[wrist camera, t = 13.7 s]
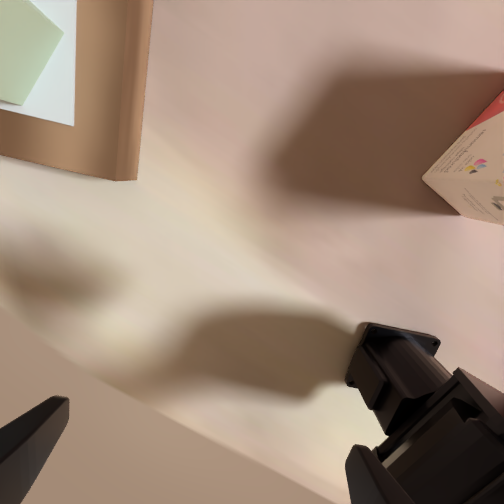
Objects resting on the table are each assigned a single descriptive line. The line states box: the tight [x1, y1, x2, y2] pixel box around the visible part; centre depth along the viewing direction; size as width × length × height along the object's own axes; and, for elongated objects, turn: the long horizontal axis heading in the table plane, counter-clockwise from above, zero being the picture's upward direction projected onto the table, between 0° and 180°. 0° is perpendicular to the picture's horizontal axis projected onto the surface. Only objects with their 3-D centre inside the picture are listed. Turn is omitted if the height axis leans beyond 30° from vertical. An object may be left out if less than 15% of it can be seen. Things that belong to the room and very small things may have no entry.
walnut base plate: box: [0, 0, 153, 181], centre depth 15 cm, size 12×12×3 cm
